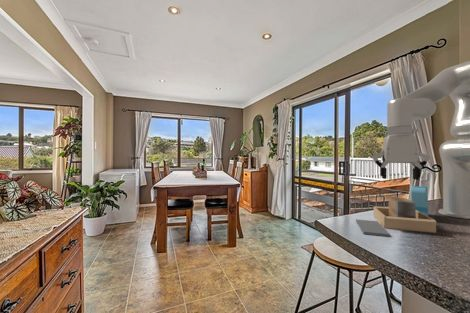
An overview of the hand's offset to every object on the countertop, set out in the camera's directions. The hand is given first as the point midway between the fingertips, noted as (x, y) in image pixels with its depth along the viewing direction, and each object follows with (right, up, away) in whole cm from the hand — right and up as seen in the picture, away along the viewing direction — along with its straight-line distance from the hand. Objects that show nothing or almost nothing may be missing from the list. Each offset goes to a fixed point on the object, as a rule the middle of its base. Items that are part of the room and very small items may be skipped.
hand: (399, 178), depth 77 cm
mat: (-13, -17, -4) cm, 22 cm away
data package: (+15, -17, +9) cm, 24 cm away
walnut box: (+1, -17, 0) cm, 17 cm away
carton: (+1, -17, 0) cm, 17 cm away
